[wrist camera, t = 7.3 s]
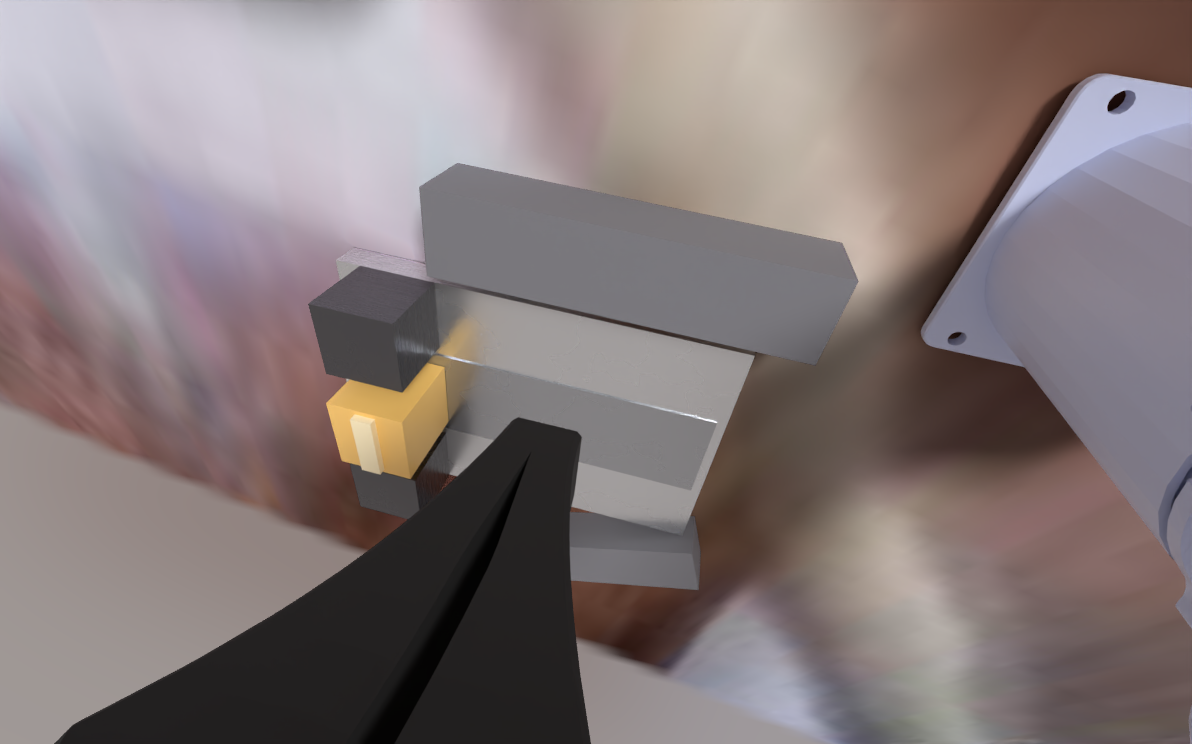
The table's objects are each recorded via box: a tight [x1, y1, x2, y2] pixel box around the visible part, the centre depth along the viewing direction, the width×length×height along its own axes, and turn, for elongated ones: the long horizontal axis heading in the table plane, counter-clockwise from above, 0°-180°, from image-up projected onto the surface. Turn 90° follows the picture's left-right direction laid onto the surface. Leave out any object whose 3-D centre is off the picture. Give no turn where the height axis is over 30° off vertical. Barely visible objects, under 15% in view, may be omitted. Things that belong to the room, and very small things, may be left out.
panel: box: [308, 248, 755, 535], centre depth 21 cm, size 16×11×4 cm
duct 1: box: [419, 163, 858, 366], centre depth 17 cm, size 13×3×3 cm, turn 82°
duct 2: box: [569, 512, 701, 590], centre depth 28 cm, size 13×3×2 cm, turn 103°
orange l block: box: [326, 363, 448, 479], centre depth 21 cm, size 3×3×4 cm
